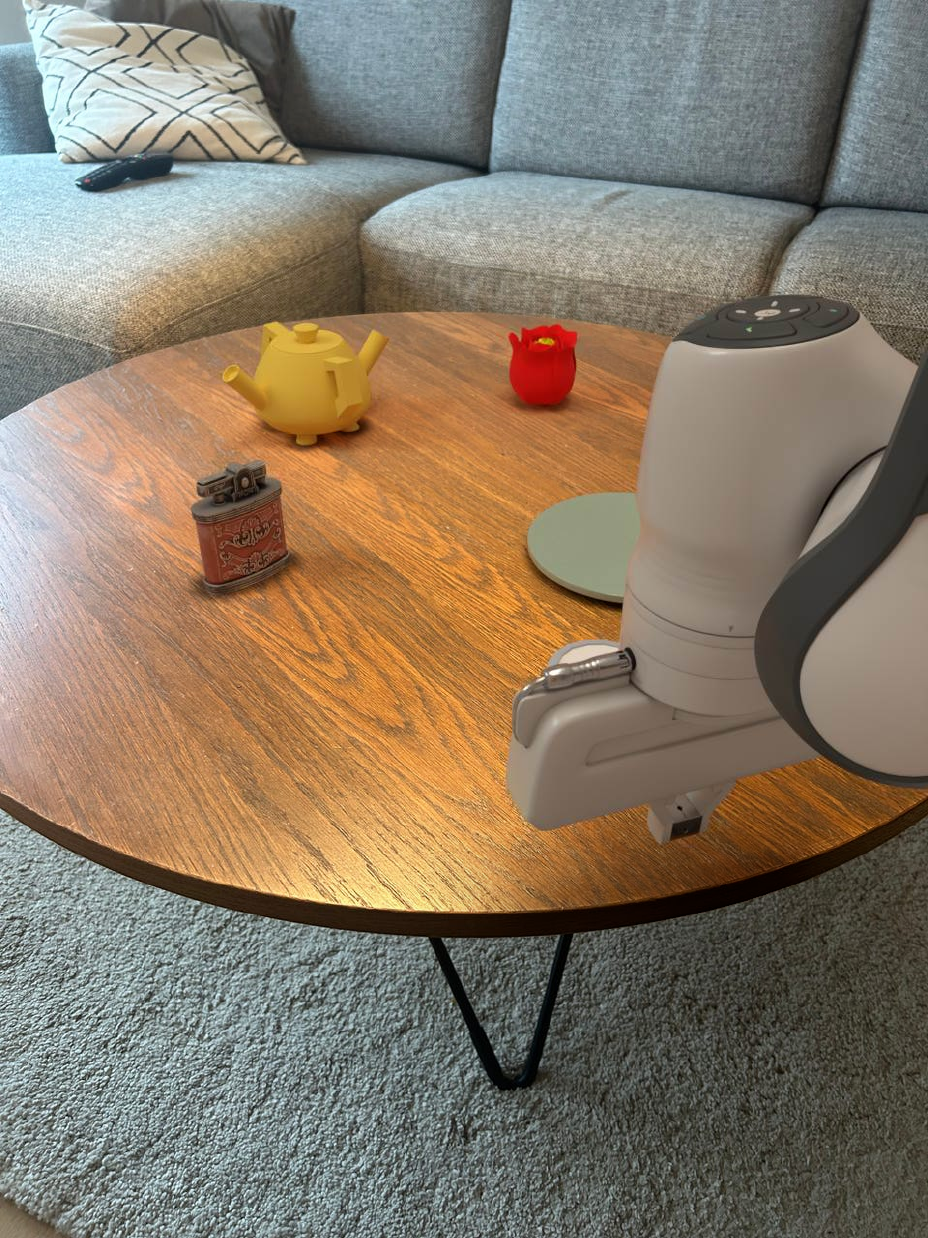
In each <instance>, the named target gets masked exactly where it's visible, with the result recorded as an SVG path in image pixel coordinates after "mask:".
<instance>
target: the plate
mask: <svg viewBox="0 0 928 1238" xmlns="http://www.w3.org/2000/svg"><path fill="white" fill-rule="evenodd" d="M529 525H530V526H529V527H528V529H527V535H526V548H527V553H528V555H529V558H530V560H531V561H532V563H533V564H534V566H535V567H536V568H537V569H538V570H539V571H540V572H541V573H542V574H543V575H545V576H546V577H547V578H548V579H549V580H551V581H553V582H555V584H558V585H559V586H562V587H563V588H566V589H567V590H570V591H571V592H574V593H577V594H580V595H583V596H586V597H590V598H593V599H597V600H601V601H606V602H611V603H618V604H623V600H624V591H625V582H626V573H627V566H628V562H629V559H630V557H631V554H632V552H633V549H634V547H635V545H636V544H637V541H638V538H639V534H640V518H639V513H638V508H637V503H636V492H627V491H625V492H623V491H615V492H614V491H609V492H596V493H589V494H583V495H579V496H574V497H571V498H567V499H564V500H561V501H559V502H557V503H555V504H552V505H551V506H549V507H547V508H546V509H544V510H543V511H541V512H540V513H539V514H538V515H537V516H536V517H535V518H534V519H533V521H532V522H531V523H530V524H529Z"/></svg>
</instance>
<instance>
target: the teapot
mask: <svg viewBox="0 0 928 1238" xmlns="http://www.w3.org/2000/svg"><path fill="white" fill-rule="evenodd" d="M292 329H293V330H290V329H288V328H286V327H285V326H284V325H282V324H281V323H280V322H279V321H277V320H276V321H272V322H269V323H265V324H263V325H262V337H261V348H260V361H259V362H258V365H257V368H256V371H255V373H254V377H253V379H252V378H251V377H250V376H249V374H247V373H246V372H245V371H244V370H242V368H240V367H239V366H238V365H237V364H232V365H229V366H228V367H227V368H226V369H225V370H224V371H223V373H222V376H221V379H222V381H223V382H224V383H226V384H227V385H228V386H229V387H230V388H231V389H233V390H234V391H236V393H238V394H239V395H240V396H241V397H242V398H244V399H245V401H247V402H248V403H250V404H251V405H252V407H253V409H254V411H255V413H256V414H257V415H258V416H259V418H261V419H262V421H264V422H265V423H266V424H268V425H269V426H270V427H272V428H273V429H275V430H277V431H280V432H283V433H286V434H292V435H296V439H295V442H296V444H298V445H300V446H311V445H313V444H316V443H317V442H318V436H317V435H323V434H331V433H335V432H338V431H342V432H345V433H347V432H348V433H349V432H351V433H352V432H355V431H357V430H359V429H360V426H359V424H358V422H359V420H360V419H361V418H362V417H363V416H364V414H365V413H366V412H367V411H368V409H369V407H370V406H371V403H372V399H373V397H372V388H371V384H370V380H369V375H370V373H371V372H372V369H373V368H374V367H375V364H376V363H377V361H378V360H379V358H380V357H381V354H382V353H383V351H384V349H386V346H387V345H388V342H389V341H390V338H388V337H387V336H385V335H383V334H382V333H380V332H379V331H376V329H372V330H371V332H370V334H369V336H368V337H367V339H366V341H365V343H364V344H363V345H362V347H361V350H360V351H359V353H358V354H356V353H355V351H354V350H353V348H352V347H351V346H350V345H349V343H348V342H347V341H346V340H345V339H344V338H343V337H342V336H341V335H340V334H339V333H336V332H333V331H331V330H326V329H319V325H318V324H316V323H313V322H302V323H298V324H296V325H294V326H293V328H292Z"/></svg>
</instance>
